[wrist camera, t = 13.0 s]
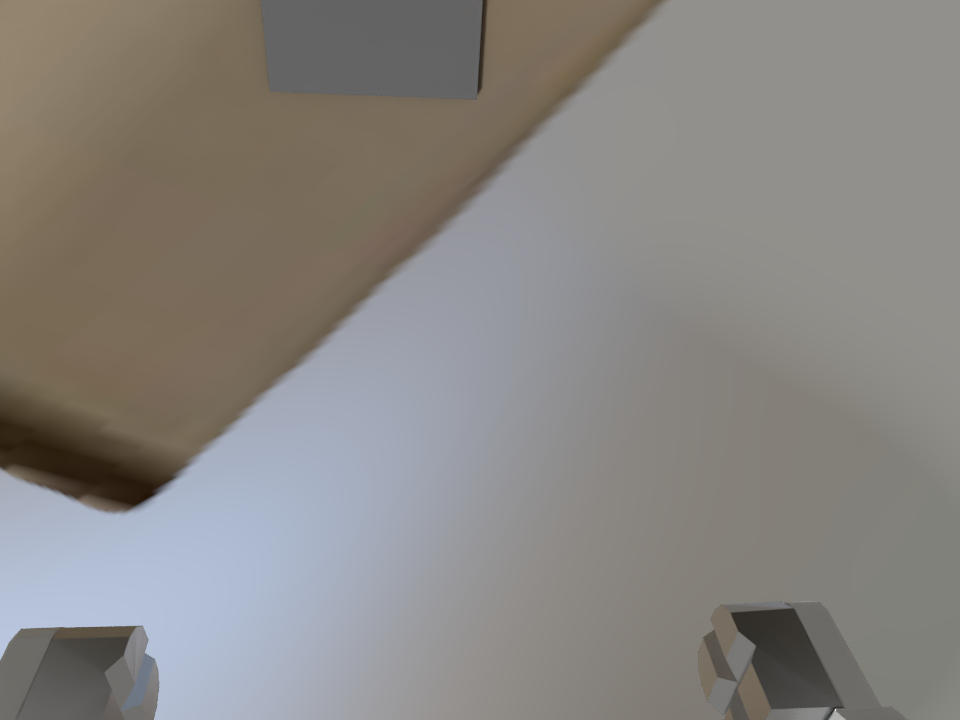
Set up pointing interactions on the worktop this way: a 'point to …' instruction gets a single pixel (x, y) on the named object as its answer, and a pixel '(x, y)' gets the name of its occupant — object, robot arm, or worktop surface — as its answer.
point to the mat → (374, 47)
